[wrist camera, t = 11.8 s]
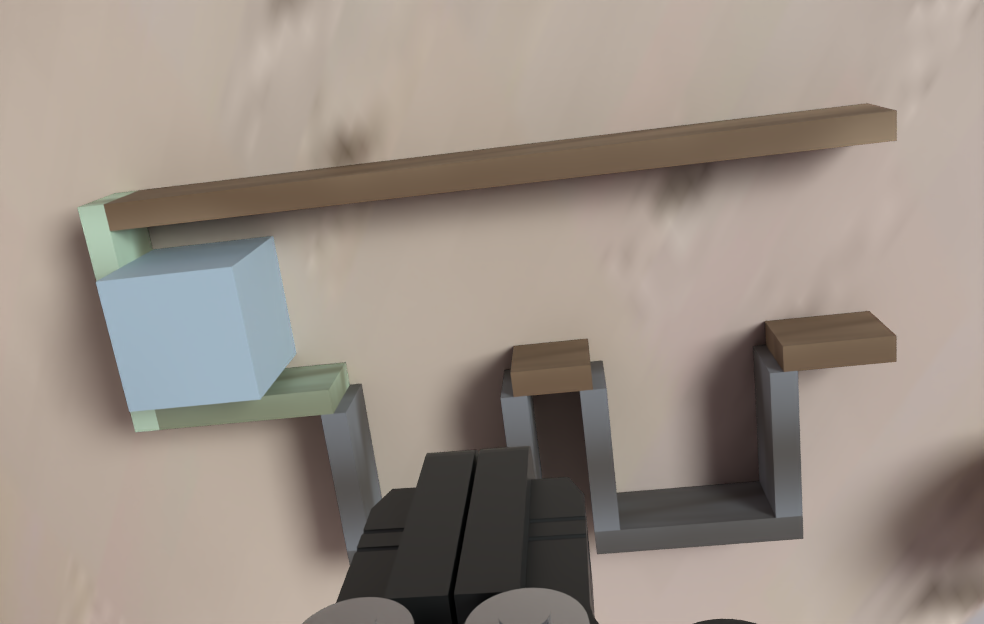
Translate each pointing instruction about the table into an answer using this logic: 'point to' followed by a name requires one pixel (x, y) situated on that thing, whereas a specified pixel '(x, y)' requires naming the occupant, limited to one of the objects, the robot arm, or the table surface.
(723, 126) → the trap box
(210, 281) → the block
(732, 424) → the table surface
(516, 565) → the robot arm
